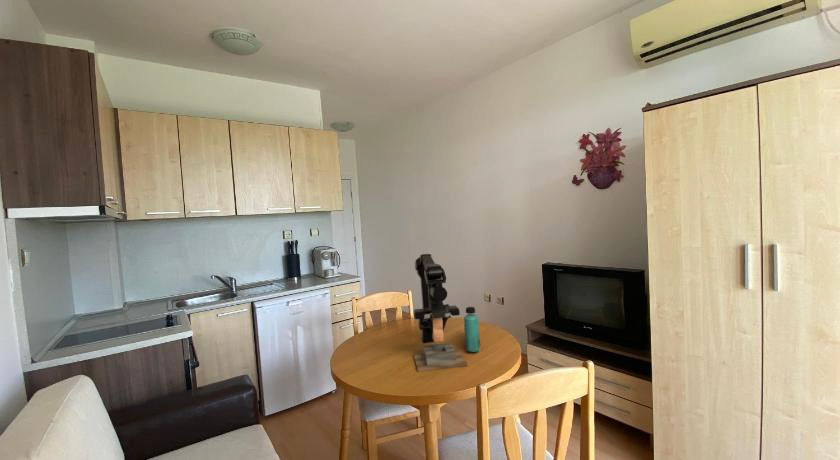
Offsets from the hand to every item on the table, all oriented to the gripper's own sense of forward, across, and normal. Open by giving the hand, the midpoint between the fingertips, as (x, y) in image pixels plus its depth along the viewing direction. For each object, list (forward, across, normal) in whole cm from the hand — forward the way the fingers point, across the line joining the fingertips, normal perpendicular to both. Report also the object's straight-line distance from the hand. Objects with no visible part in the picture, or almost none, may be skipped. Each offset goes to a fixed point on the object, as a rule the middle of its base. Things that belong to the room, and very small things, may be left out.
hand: (437, 332), depth 148 cm
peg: (+3, 0, 0) cm, 3 cm away
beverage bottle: (+12, +16, +5) cm, 21 cm away
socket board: (+12, 0, 0) cm, 12 cm away
